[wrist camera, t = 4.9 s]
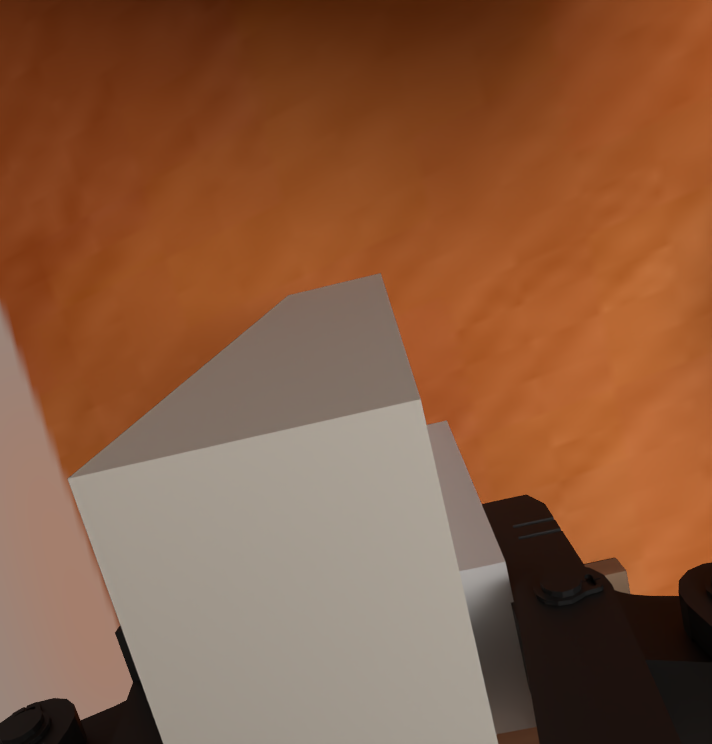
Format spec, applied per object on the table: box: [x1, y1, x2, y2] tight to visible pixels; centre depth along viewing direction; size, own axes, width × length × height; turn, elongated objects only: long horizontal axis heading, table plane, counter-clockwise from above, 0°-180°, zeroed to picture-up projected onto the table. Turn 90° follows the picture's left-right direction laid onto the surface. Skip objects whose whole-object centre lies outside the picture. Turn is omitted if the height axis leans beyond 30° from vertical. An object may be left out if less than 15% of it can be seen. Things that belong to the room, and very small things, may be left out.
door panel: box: [68, 273, 498, 744], centre depth 11 cm, size 10×2×12 cm, turn 13°
